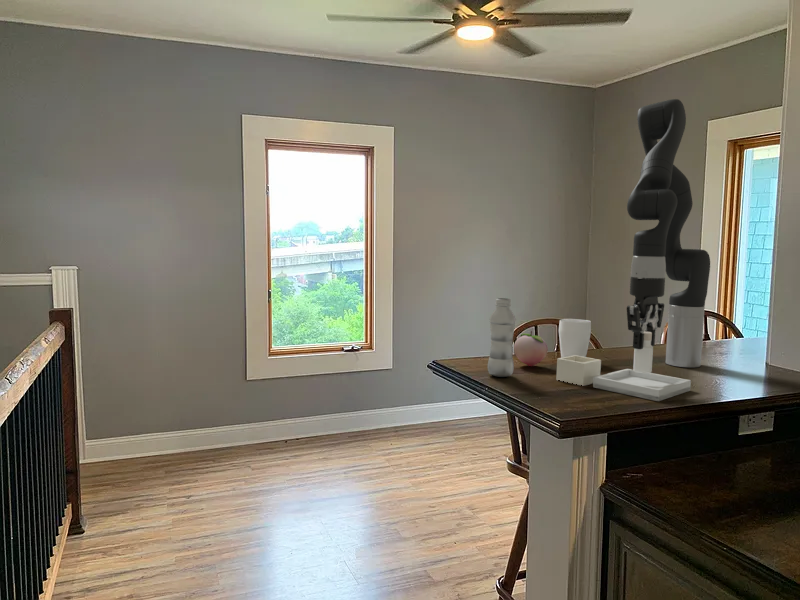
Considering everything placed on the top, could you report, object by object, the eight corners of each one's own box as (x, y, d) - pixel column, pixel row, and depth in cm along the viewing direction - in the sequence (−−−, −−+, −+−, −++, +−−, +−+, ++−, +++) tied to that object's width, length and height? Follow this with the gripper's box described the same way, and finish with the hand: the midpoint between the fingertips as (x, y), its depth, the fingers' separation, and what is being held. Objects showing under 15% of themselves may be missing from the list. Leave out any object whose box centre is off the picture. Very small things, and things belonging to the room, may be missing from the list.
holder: (573, 376, 155) (574, 355, 155) (599, 381, 150) (601, 359, 149) (556, 380, 150) (557, 358, 150) (583, 385, 145) (584, 363, 144)
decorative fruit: (506, 365, 168) (507, 330, 167) (526, 362, 172) (527, 327, 171) (532, 371, 160) (533, 334, 159) (552, 368, 165) (553, 332, 164)
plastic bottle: (491, 372, 158) (494, 297, 156) (516, 375, 155) (519, 298, 153) (483, 377, 152) (486, 298, 150) (509, 380, 149) (512, 300, 147)
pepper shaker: (633, 369, 145) (635, 330, 144) (651, 370, 144) (653, 331, 143) (633, 372, 141) (635, 332, 140) (651, 374, 140) (654, 334, 139)
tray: (626, 378, 154) (627, 368, 154) (690, 390, 142) (690, 380, 142) (593, 387, 144) (593, 376, 143) (658, 401, 132) (659, 390, 131)
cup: (591, 365, 170) (593, 323, 169) (558, 363, 172) (560, 322, 170) (587, 359, 179) (589, 319, 177) (556, 357, 180) (558, 318, 179)
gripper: (647, 274, 148) (643, 342, 149) (617, 275, 138) (613, 348, 140) (677, 275, 142) (673, 346, 144) (648, 277, 133) (644, 353, 135)
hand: (643, 347), depth 142 cm, fingers closed on pepper shaker, 5 cm apart
